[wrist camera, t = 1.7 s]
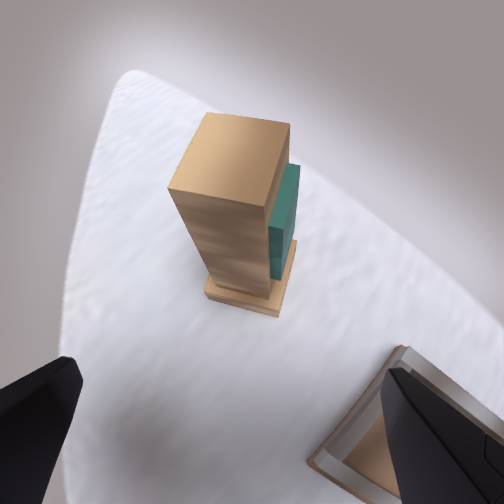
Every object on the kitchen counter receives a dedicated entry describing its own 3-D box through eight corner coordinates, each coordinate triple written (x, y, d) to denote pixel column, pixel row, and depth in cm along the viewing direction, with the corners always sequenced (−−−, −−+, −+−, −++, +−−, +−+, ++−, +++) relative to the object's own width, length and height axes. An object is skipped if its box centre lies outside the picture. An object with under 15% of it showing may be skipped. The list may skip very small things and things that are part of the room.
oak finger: (209, 299, 23) (143, 196, 11) (230, 237, 25) (194, 103, 13) (278, 317, 22) (282, 224, 10) (295, 252, 24) (311, 119, 12)
